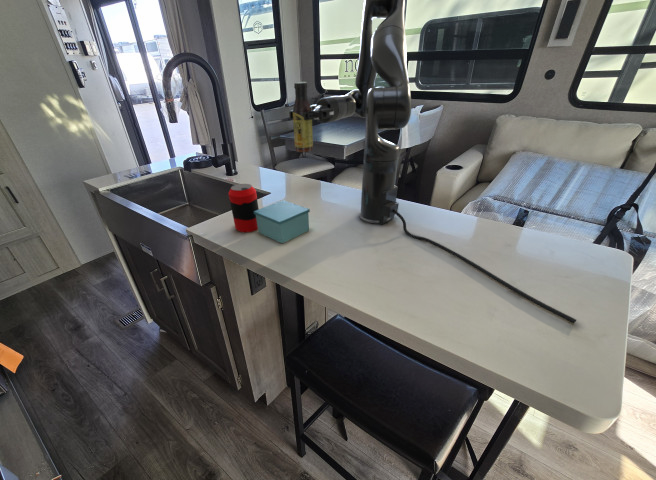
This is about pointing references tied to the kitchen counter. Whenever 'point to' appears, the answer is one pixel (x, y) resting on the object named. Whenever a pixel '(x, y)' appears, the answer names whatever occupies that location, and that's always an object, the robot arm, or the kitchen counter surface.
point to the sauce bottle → (302, 119)
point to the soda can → (244, 207)
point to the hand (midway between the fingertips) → (297, 115)
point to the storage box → (282, 221)
